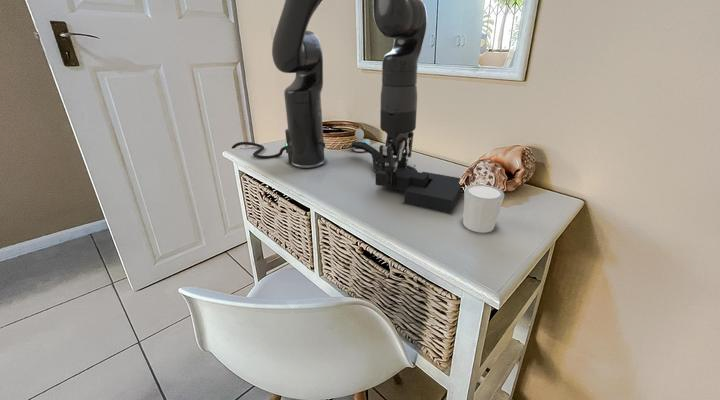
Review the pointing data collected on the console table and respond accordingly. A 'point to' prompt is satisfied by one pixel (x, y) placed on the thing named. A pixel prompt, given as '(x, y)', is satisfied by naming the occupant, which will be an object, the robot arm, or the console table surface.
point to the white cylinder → (481, 207)
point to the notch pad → (435, 193)
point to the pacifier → (360, 139)
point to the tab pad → (404, 178)
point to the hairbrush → (373, 154)
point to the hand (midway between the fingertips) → (396, 181)
